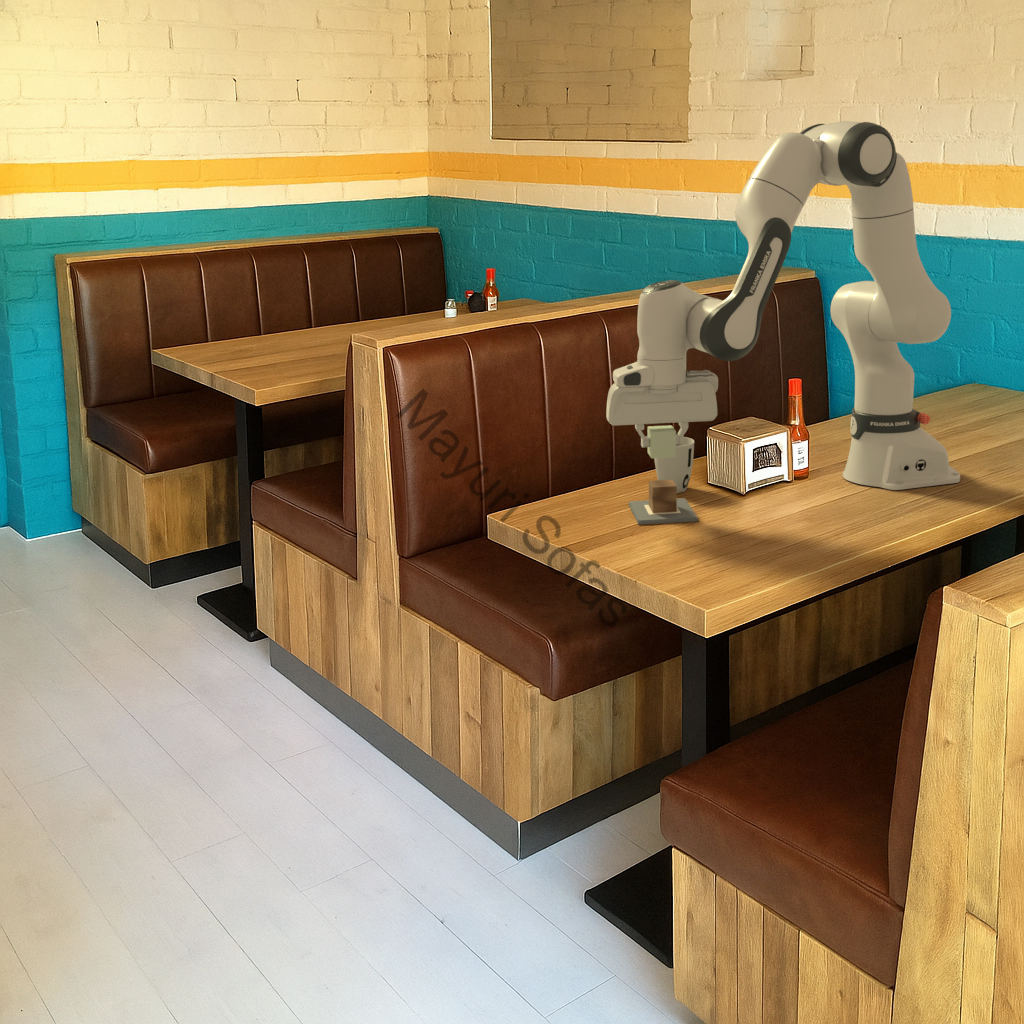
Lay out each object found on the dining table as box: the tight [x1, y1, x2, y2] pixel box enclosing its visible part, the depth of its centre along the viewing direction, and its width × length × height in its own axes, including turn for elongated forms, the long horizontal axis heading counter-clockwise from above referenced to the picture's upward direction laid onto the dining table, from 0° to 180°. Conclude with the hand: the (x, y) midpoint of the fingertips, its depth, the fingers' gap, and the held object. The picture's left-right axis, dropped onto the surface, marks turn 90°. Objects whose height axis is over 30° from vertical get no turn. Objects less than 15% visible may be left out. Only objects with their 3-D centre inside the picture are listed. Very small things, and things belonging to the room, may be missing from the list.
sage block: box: [647, 424, 677, 459], centre depth 210 cm, size 4×4×5 cm
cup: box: [653, 436, 695, 494], centre depth 227 cm, size 8×8×10 cm
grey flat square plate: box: [628, 497, 699, 525], centre depth 214 cm, size 11×12×1 cm
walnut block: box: [648, 479, 678, 513], centre depth 213 cm, size 4×4×5 cm
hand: (661, 445), depth 210 cm, fingers closed on sage block, 4 cm apart
